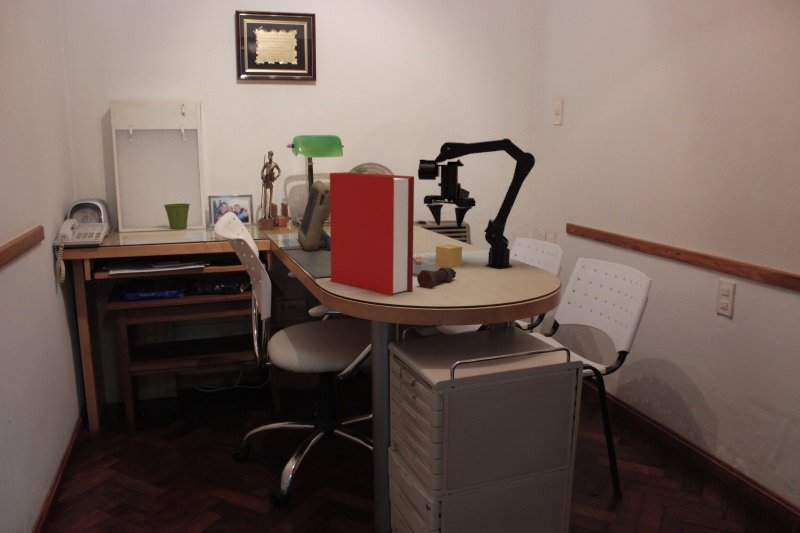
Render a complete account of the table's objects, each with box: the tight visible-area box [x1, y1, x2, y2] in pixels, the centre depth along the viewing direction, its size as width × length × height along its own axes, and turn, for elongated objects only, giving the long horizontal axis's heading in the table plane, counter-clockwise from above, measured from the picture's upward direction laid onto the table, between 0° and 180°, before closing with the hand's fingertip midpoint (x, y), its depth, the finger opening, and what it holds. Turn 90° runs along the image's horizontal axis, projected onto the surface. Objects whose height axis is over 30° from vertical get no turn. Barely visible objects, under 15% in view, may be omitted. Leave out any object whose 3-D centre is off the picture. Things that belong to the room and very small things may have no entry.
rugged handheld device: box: [297, 180, 331, 252], centre depth 256 cm, size 33×14×25 cm, turn 18°
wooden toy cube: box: [435, 244, 463, 269], centre depth 218 cm, size 6×6×6 cm
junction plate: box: [413, 255, 446, 277], centre depth 209 cm, size 14×14×5 cm
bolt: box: [416, 266, 457, 289], centre depth 191 cm, size 6×5×15 cm
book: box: [329, 171, 415, 297], centre depth 184 cm, size 27×8×32 cm, turn 46°
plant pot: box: [163, 203, 191, 230], centre depth 301 cm, size 12×12×11 cm
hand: (448, 226), depth 219 cm, fingers open, 9 cm apart
